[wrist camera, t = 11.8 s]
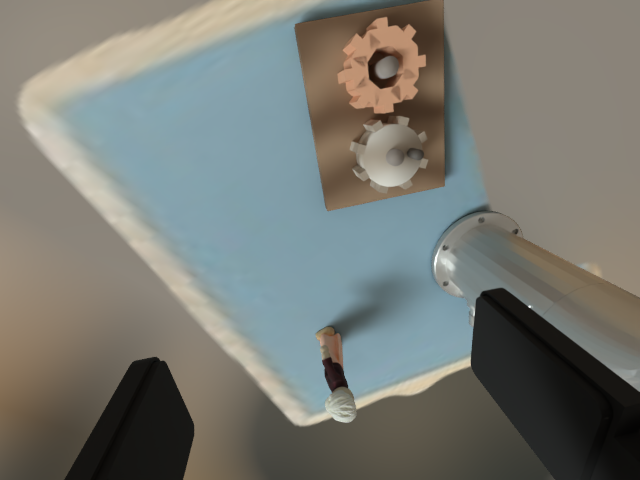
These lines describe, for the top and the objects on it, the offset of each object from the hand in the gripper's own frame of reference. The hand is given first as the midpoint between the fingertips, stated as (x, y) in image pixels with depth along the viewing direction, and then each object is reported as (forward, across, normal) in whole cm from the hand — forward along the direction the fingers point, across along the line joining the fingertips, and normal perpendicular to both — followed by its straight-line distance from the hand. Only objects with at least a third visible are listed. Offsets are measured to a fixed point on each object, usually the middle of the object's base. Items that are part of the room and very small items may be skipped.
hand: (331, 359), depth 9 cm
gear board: (+27, -10, -5) cm, 30 cm away
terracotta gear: (+26, -10, -9) cm, 29 cm away
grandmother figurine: (+28, -1, +23) cm, 36 cm away
